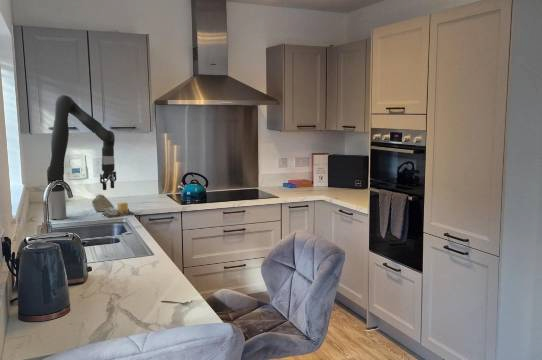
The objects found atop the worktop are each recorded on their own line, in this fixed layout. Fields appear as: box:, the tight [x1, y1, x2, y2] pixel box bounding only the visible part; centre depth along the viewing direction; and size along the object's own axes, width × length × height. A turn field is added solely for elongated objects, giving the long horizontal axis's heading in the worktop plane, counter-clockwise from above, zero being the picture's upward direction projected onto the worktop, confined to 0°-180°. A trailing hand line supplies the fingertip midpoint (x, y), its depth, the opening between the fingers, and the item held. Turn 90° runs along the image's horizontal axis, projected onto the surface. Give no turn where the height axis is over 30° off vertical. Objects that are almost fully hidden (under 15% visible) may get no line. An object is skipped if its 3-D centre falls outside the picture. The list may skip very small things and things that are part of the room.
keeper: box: [104, 207, 118, 215], centre depth 314 cm, size 4×10×3 cm, turn 39°
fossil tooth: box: [91, 193, 115, 212], centre depth 327 cm, size 12×6×15 cm
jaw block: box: [117, 201, 129, 213], centre depth 318 cm, size 5×5×6 cm
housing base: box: [101, 208, 134, 219], centre depth 317 cm, size 16×10×3 cm, turn 129°
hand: (108, 189), depth 311 cm, fingers open, 8 cm apart
